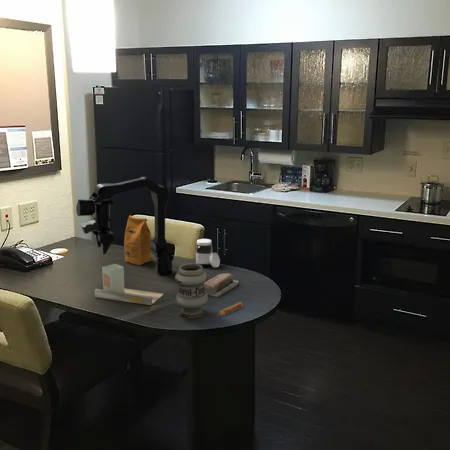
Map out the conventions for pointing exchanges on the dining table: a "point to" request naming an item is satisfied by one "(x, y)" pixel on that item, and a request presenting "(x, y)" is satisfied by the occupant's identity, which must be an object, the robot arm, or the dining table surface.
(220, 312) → the chocolate bar
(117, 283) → the carton
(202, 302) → the apothecary jar
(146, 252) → the coffee package
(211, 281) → the packaged product
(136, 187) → the robot arm
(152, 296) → the shelf
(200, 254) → the spread jar
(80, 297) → the dining table surface
